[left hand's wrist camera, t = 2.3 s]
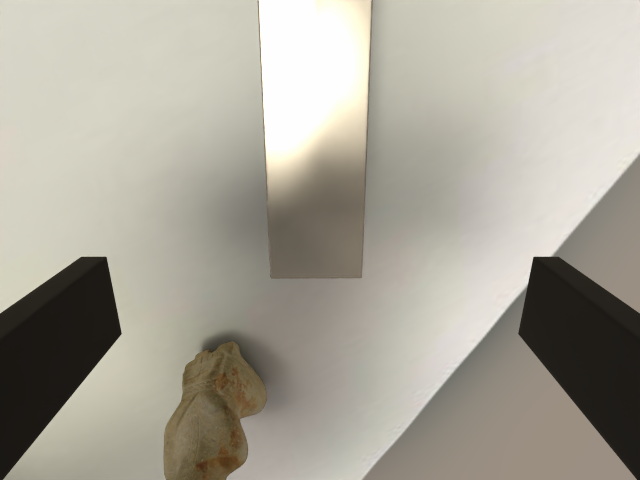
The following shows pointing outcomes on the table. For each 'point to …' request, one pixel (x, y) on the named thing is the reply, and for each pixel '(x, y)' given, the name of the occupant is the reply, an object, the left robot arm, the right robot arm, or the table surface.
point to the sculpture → (212, 416)
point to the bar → (315, 133)
